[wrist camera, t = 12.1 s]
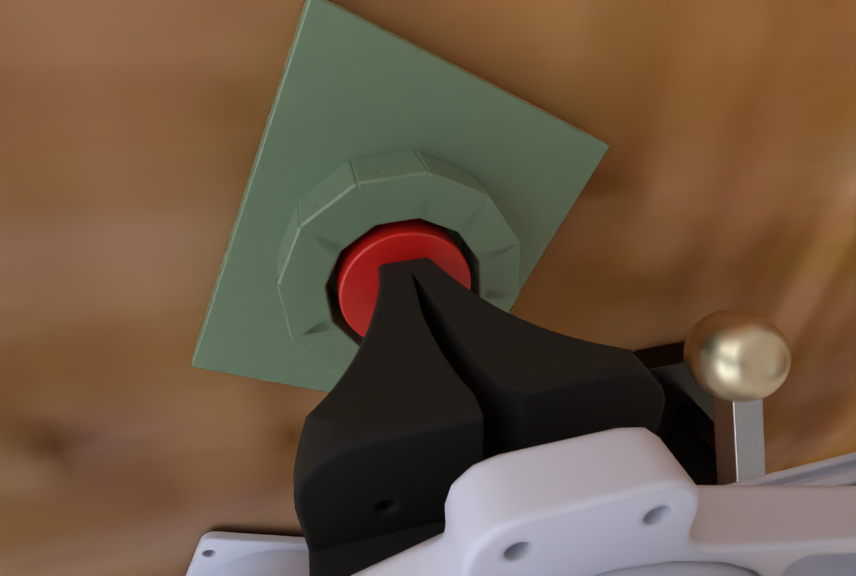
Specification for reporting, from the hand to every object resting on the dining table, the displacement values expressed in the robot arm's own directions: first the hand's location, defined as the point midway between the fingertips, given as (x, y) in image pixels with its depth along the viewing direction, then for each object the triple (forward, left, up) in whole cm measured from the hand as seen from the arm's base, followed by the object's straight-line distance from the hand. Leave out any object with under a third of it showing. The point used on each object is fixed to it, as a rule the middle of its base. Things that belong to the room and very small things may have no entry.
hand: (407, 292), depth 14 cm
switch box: (0, 0, -3) cm, 3 cm away
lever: (-2, -13, +1) cm, 14 cm away
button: (0, 0, -2) cm, 2 cm away
